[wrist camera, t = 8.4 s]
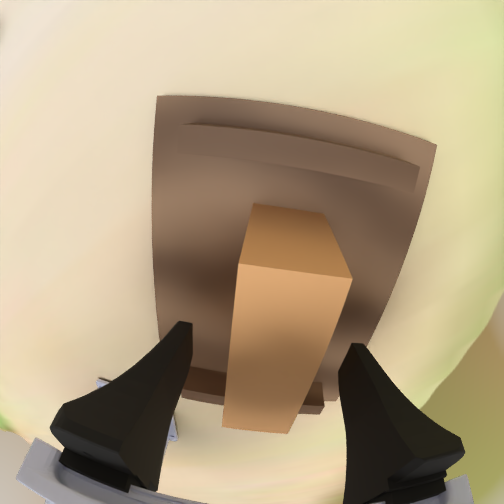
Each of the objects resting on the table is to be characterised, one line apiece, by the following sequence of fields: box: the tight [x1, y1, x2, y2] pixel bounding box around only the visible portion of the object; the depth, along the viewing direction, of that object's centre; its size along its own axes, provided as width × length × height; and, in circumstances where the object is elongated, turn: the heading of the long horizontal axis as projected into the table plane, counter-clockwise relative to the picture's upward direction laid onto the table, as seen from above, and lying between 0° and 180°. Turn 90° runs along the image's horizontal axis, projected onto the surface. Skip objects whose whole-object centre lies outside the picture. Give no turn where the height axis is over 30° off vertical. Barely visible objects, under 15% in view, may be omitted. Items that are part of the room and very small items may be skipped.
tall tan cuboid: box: [222, 203, 353, 434], centre depth 13 cm, size 10×4×6 cm, turn 173°
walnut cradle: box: [152, 96, 437, 414], centre depth 15 cm, size 20×14×3 cm
